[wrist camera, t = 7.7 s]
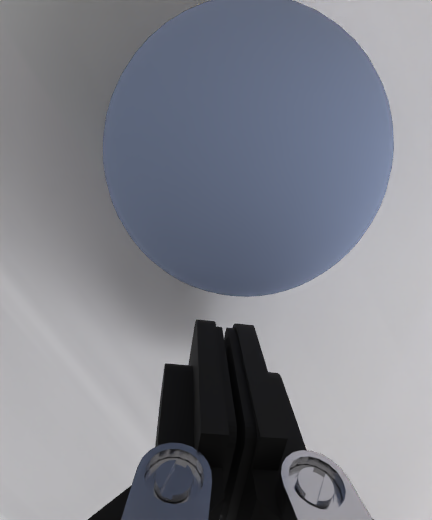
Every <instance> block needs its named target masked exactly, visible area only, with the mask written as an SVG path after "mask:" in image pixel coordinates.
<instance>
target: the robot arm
mask: <svg viewBox="0 0 432 520" xmlns="http://www.w3.org/2000/svg"><path fill="white" fill-rule="evenodd" d="M88 520H373V519H372V518H371V516H370V514H369V513H368V511H367V509H366V508H365V506H364V504H363V502H362V501H361V499H360V497H359V496H358V494H357V492H356V490H355V489H354V487H353V485H352V484H351V482H350V480H349V478H348V477H347V476H346V474H345V473H344V472H343V470H342V469H341V468H340V467H339V466H338V465H337V464H336V463H335V462H333V461H332V460H331V459H329V458H327V457H326V456H324V455H322V454H319V453H316V452H313V451H307V450H306V447H305V445H304V442H303V439H302V436H301V433H300V430H299V427H298V424H297V421H296V419H295V416H294V413H293V410H292V407H291V404H290V401H289V398H288V395H287V393H286V390H285V387H284V384H283V381H282V378H281V376H280V375H279V374H278V373H271V372H268V371H267V367H266V364H265V361H264V357H263V354H262V351H261V348H260V344H259V341H258V338H257V334H256V331H255V328H254V326H253V325H245V324H234V325H233V328H227V329H226V332H225V337H223V331H222V327H216V324H215V321H205V320H196V322H195V327H194V334H193V340H192V346H191V353H190V359H189V365H177V364H165V367H164V375H163V382H162V390H161V399H160V407H159V417H158V426H157V436H156V446H155V448H153V449H151V450H150V451H149V452H148V453H147V454H146V455H145V456H144V457H143V458H142V460H141V462H140V463H139V465H138V467H137V471H136V474H135V477H134V480H133V483H132V485H131V486H130V487H129V488H128V489H126V490H125V491H124V492H122V493H121V494H120V495H119V496H117V497H116V498H115V499H113V500H112V501H111V502H110V503H108V504H107V505H106V506H104V507H103V508H102V509H101V510H99V511H98V512H97V513H95V514H94V515H93V516H92V517H90V518H89V519H88Z"/></svg>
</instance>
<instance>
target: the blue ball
mask: <svg viewBox="0 0 432 520" xmlns="http://www.w3.org/2000/svg"><path fill="white" fill-rule="evenodd" d="M393 150H394V141H393V124H392V117H391V112H390V107H389V101H388V98H387V96H386V93H385V90H384V87H383V84H382V82H381V80H380V78H379V76H378V74H377V72H376V70H375V68H374V67H373V65H372V63H371V61H370V59H369V57H368V56H367V55H366V53H365V52H364V51H363V50H362V48H361V47H360V46H359V44H358V43H357V42H356V41H355V40H354V39H353V38H352V37H351V36H350V35H349V34H348V33H347V32H346V31H345V30H343V29H342V28H341V27H340V26H339V25H338V24H336V23H335V22H334V21H332V20H331V19H329V18H327V17H326V16H324V15H323V14H321V13H320V12H318V11H317V10H315V9H312V8H310V7H308V6H305V5H303V4H301V3H298V2H296V1H292V0H212V1H208V2H205V3H202V4H200V5H198V6H195V7H193V8H191V9H188V10H186V11H184V12H182V13H181V14H179V15H178V16H176V17H174V18H173V19H171V20H170V21H168V22H166V23H165V24H164V25H163V26H162V27H160V28H159V29H158V30H157V31H156V32H154V33H153V34H152V35H151V36H150V37H149V38H148V39H147V40H146V41H145V42H144V44H143V45H142V46H141V47H140V48H139V49H138V50H137V52H136V53H135V54H134V56H133V57H132V59H131V60H130V62H129V63H128V65H127V66H126V68H125V70H124V71H123V73H122V75H121V77H120V79H119V81H118V83H117V86H116V88H115V90H114V92H113V94H112V97H111V101H110V104H109V108H108V111H107V115H106V122H105V128H104V137H103V163H104V170H105V178H106V181H107V185H108V189H109V193H110V196H111V200H112V203H113V205H114V208H115V210H116V212H117V215H118V217H119V219H120V220H121V222H122V224H123V225H124V227H125V229H126V230H127V232H128V234H129V235H130V237H131V238H132V239H133V241H134V242H135V243H136V245H137V246H138V247H139V248H140V250H141V251H142V252H143V253H144V254H145V255H146V256H147V257H148V258H149V259H150V260H152V261H153V262H154V263H155V264H157V265H158V266H159V267H160V268H162V269H163V270H164V271H166V272H167V273H168V274H170V275H172V276H173V277H175V278H177V279H178V280H180V281H182V282H184V283H186V284H189V285H191V286H193V287H196V288H199V289H202V290H205V291H209V292H213V293H217V294H222V295H230V296H246V297H247V296H262V295H268V294H274V293H278V292H282V291H286V290H289V289H291V288H294V287H297V286H300V285H302V284H304V283H306V282H308V281H310V280H312V279H314V278H315V277H317V276H319V275H320V274H322V273H324V272H325V271H327V270H328V269H329V268H331V267H332V266H334V265H335V264H336V263H338V262H339V261H340V260H341V259H342V258H343V257H344V256H345V255H346V254H348V253H349V252H350V250H351V249H352V248H353V247H354V246H355V245H356V244H357V243H358V241H359V240H360V239H361V237H362V236H363V234H364V233H365V232H366V230H367V229H368V227H369V226H370V224H371V222H372V221H373V219H374V217H375V215H376V213H377V211H378V210H379V208H380V205H381V203H382V200H383V197H384V195H385V192H386V189H387V184H388V180H389V176H390V172H391V168H392V161H393Z"/></svg>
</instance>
